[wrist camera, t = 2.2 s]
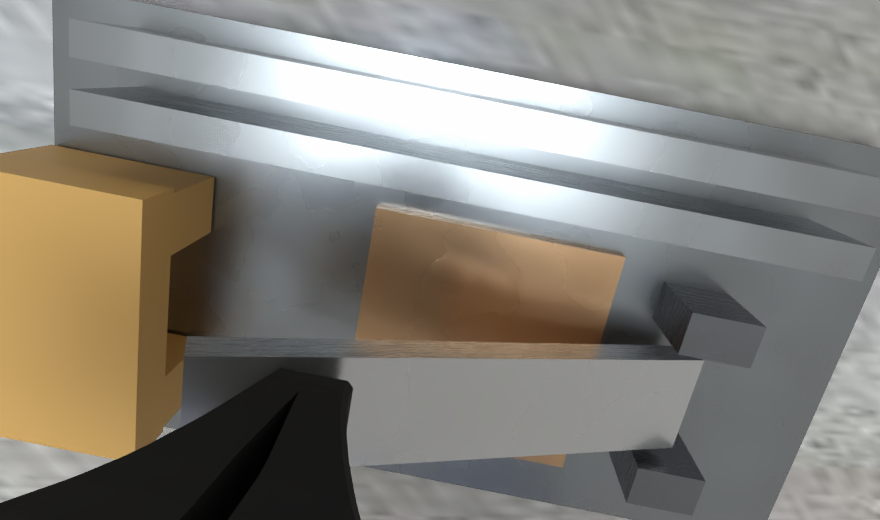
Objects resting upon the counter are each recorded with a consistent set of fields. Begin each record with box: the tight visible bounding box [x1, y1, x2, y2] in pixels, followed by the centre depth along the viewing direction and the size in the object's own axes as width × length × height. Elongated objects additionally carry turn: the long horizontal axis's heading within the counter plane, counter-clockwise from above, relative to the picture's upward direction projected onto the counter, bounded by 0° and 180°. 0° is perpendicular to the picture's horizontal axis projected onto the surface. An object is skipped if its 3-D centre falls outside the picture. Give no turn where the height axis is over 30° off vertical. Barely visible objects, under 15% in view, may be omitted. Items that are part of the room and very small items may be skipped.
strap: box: [180, 336, 704, 467], centre depth 12 cm, size 2×11×1 cm, turn 79°
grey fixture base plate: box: [52, 0, 880, 520], centre depth 15 cm, size 11×20×4 cm, turn 79°
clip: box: [0, 145, 215, 459], centre depth 14 cm, size 6×4×3 cm, turn 169°
